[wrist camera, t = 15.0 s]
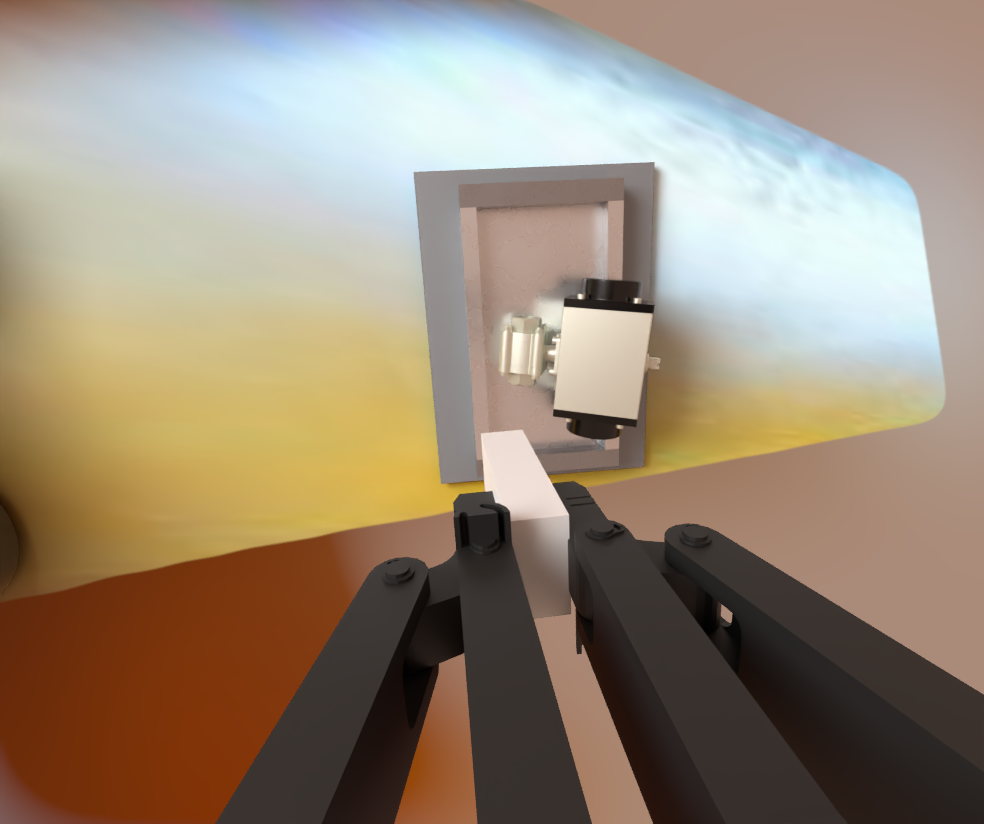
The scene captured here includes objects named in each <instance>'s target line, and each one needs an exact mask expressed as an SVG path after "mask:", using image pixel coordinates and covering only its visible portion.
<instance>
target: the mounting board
mask: <svg viewBox="0 0 984 824" xmlns="http://www.w3.org/2000/svg"><path fill="white" fill-rule="evenodd" d="M622 177H624V215H623V267H622V280H633V281H642V282H643V284H642V291H641V299H642V300H644V301H650V278H651V249H652V220H653V191H654V162H649V163H625V164H600V165H576V166H551V167H527V168H502V169H478V170H454V171H429V172H414V181H415V193H416V204H417V216H418V227H419V238H420V250H421V261H422V272H423V284H424V295H425V307H426V318H427V329H428V341H429V352H430V363H431V375H432V386H433V398H434V409H435V420H436V432H437V443H438V454H439V466H440V477H441V484H444V483H456V482H468V481H480V480H484V477H478V476H477V469H476V456H475V441H474V426H473V410H472V395H471V380H470V365H469V350H468V335H467V320H466V304H465V289H464V274H463V259H462V244H461V229H460V213H459V198H458V185H459V184H482V183H506V182H529V181H552V180H576V179H599V178H622ZM646 394H647V372H645V373H644V379H643V386H642V393H641V399H640V406H639V413H638V419H637V426H636V427H630V426H624V427H623V429H622V433H621V435H620V436H619V466H610V467H598V468H586V469H574V470H562V471H550V472H546V474H547V475H552V474H564V473H576V472H588V471H600V470H612V469H624V468H636V467H644V452H645V423H646Z"/></svg>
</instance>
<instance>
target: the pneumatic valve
mask: <svg viewBox="0 0 984 824" xmlns="http://www.w3.org/2000/svg"><path fill="white" fill-rule="evenodd" d="M642 284H643V282H642V281H633V280H620V279H604V278H582V282H581V292H580V294H578V296H575V295H570V296H568V297H566V298H564V306H563V316H562V326H561V333H557V336H556V337H553V338H552V344H556V346H552V345H549V340H550V331H549V330H548V326H547V324H543V325H541V323H542V319H541V318H539V317H533V316H514V317H513V318H512V323H511V326H510V325H509V324H506V326H504V330H502V331H501V338H500V354H499V370H498V371H499V372H501V375H502V376H508V382H509V383H511V384H513V385H519V386H532V385H535V384H536V381H537V379H539V377H540V376H542V373H544V371H545V370H547V362H548V361H553V362H554V367H553V368H550V370H549V375H553V376H556V388H555V398H554V408H553V417H560V418H565V422H567V424H566V428H567V430H568V431H569V432H571V433H572V434H574V435H577V436H580V437H584V438H589V439H597V440H609V439H615V438H617V437H619V436H620V435H621V433H622V429H623V427H624V426H630V427H636V426H637V419H638V413H639V406H640V399H641V393H642V386H643V379H644V373H645V372H647V369H649V370H659V367H660V366H659V365H657V363H660V361H661V359H660V358H657V357H649V354H648V346H649V339H650V333H651V326H652V319H653V313H654V306H655V305H654V303H653V302H652V301H644V300H642V299H641V291H642Z"/></svg>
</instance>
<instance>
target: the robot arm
mask: <svg viewBox="0 0 984 824" xmlns="http://www.w3.org/2000/svg"><path fill="white" fill-rule="evenodd" d="M481 442H482V456H483V470H484V484H485V492H477V493H467V494H460V495H459V496H458V497H457V499H456V500H455V501H454V502H453V504H454V528H455V538H456V552H455V553H454V555H453V556H452V557H451V558H450V559H449V560H448V561H446V562H444V563H443V564H441V565H438V566H435V567H433V568H430V569H428V567H427V566H426V564H425V563H424V562H422V561H420V560H418V559H415V558H409V557H404V558H394V559H392V560H391V559H390V560H388V561H386V562H383V563H382V564H380V565H378V566H376V567H375V568H374V569H373V570H372V571H371V572H370V573H369V575H368V577H367V578H366V580H365V581H364V583H363V585H362V586H361V588H360V590H359V591H358V593H357V595H356V596H355V598H354V599H353V601H352V602H351V604H350V606H349V607H348V609H347V611H346V612H345V614H344V616H343V617H342V619H341V620H340V622H339V624H338V625H337V627H336V628H335V630H334V632H333V633H332V635H331V637H330V638H329V640H328V642H327V643H326V645H325V646H324V648H323V650H322V651H321V653H320V655H319V656H318V658H317V659H316V661H315V663H314V664H313V666H312V667H311V669H310V671H309V672H308V674H307V676H306V677H305V679H304V680H303V682H302V684H301V685H300V687H299V689H298V690H297V692H296V694H295V695H294V697H293V698H292V700H291V702H290V703H289V705H288V706H287V708H286V710H285V711H284V713H283V715H282V716H281V718H280V719H279V721H278V723H277V724H276V726H275V728H274V729H273V731H272V732H271V734H270V736H269V737H268V739H267V741H266V742H265V744H264V745H263V747H262V749H261V750H260V752H259V754H258V755H257V757H256V758H255V760H254V762H253V763H252V765H251V766H250V768H249V770H248V771H247V773H246V775H245V776H244V778H243V779H242V781H241V783H240V784H239V786H238V788H237V789H236V791H235V792H234V794H233V796H232V798H231V799H230V801H229V802H228V804H227V805H226V807H225V809H224V810H223V812H222V814H221V815H220V817H219V819H218V820H217V822H216V823H215V824H394V822H395V819H396V815H397V812H398V809H399V805H400V802H401V799H402V795H403V791H404V789H405V785H406V782H407V778H408V775H409V771H410V768H411V765H412V761H413V758H414V754H415V751H416V748H417V744H418V741H419V738H420V734H421V731H422V728H423V724H424V720H425V717H426V713H427V710H428V707H429V704H430V700H431V697H432V694H433V690H434V687H435V683H436V680H437V676H438V671H439V663H441V662H444V661H446V660H448V659H451V658H453V657H456V656H458V655H461V654H463V653H464V654H465V666H466V679H467V692H468V705H469V718H470V731H471V744H472V757H473V769H474V783H475V796H476V809H477V822H478V824H592V822H591V819H590V815H589V812H588V809H587V805H586V801H585V798H584V794H583V791H582V787H581V784H580V780H579V777H578V773H577V770H576V767H575V763H574V759H573V756H572V752H571V749H570V745H569V742H568V738H567V735H566V731H565V728H564V724H563V721H562V717H561V714H560V710H559V707H558V703H557V700H556V696H555V692H554V689H553V686H552V682H551V679H550V675H549V672H548V668H547V664H546V661H545V657H544V654H543V650H542V647H541V643H540V640H539V636H538V633H537V629H536V626H535V622H534V619H535V618H543V617H551V616H559V615H566V614H571V597H572V600H573V602H574V604H575V607H576V648H577V654H581V652H582V649H581V648H582V647H581V646H582V645H584V648H585V650H586V653H587V655H588V658H589V661H590V663H591V666H592V668H593V671H594V673H595V676H596V679H597V681H598V683H599V686H600V688H601V691H602V694H603V696H604V699H605V702H606V704H607V707H608V709H609V711H610V714H611V717H612V719H613V722H614V725H615V727H616V730H617V732H618V735H619V737H620V740H621V742H622V745H623V748H624V750H625V752H626V755H627V758H628V760H629V763H630V765H631V768H632V771H633V773H634V775H635V778H636V781H637V783H638V786H639V788H640V791H641V793H642V796H643V798H644V801H645V804H646V806H647V809H648V811H649V814H650V816H651V819H652V821H653V824H984V695H983V694H982V693H980V692H979V691H977V690H975V689H974V688H972V687H970V686H969V685H967V684H965V683H964V682H962V681H960V680H959V679H957V678H956V677H954V676H952V675H951V674H949V673H947V672H946V671H944V670H943V669H941V668H939V667H937V666H936V665H934V664H932V663H931V662H929V661H928V660H926V659H924V658H923V657H921V656H920V655H918V654H916V653H915V652H913V651H911V650H910V649H908V648H907V647H905V646H903V645H902V644H900V643H898V642H897V641H895V640H894V639H892V638H890V637H888V636H887V635H885V634H884V633H882V632H880V631H879V630H877V629H875V628H874V627H872V626H871V625H869V624H867V623H865V622H864V621H862V620H861V619H859V618H857V617H856V616H854V615H853V614H851V613H849V612H848V611H846V610H845V609H843V608H841V607H840V606H838V605H836V604H835V603H833V602H831V601H829V600H828V599H827V598H825V597H823V596H822V595H820V594H818V593H817V592H815V591H814V590H812V589H810V588H809V587H807V586H805V585H804V584H802V583H800V582H799V581H797V580H796V579H794V578H792V577H791V576H789V575H787V574H786V573H784V572H782V571H781V570H779V569H778V568H776V567H774V566H773V565H771V564H769V563H768V562H766V561H764V560H763V559H761V558H760V557H758V556H756V555H755V554H753V553H751V552H750V551H748V550H747V549H745V548H743V547H741V546H740V545H738V544H737V543H735V542H733V541H732V540H730V539H729V538H727V537H725V536H724V535H722V534H720V533H719V532H717V531H715V530H713V529H710V528H708V527H704V526H700V525H698V524H682V525H675V526H673V527H671V528H669V529H668V530H667V531H666V532H665V539H664V542H653V541H642V540H636V539H635V538H634V537H633V535H632V534H631V532H630V531H629V530H628V529H627V528H626V527H625V526H624V525H622V524H620V523H617V522H615V521H610V520H608V519H607V518H606V517H605V515H604V514H603V512H602V511H601V509H600V508H599V507H598V505H597V504H596V503H595V501H594V499H593V498H592V497H591V495H590V494H589V492H588V491H587V489H586V488H585V487H583V486H582V485H580V484H578V483H576V482H574V481H572V482H562V483H551V481H550V479H549V478H548V476H547V474H546V472H545V470H544V468H543V467H542V465H541V463H540V461H539V459H538V457H537V456H536V454H535V452H534V450H533V448H532V447H531V445H530V443H529V441H528V439H527V437H526V436H525V434H524V432H523V430H513V431H502V432H491V433H481ZM18 560H19V545H18V539H17V535H16V532H15V529H14V526H13V524H12V522H11V520H10V518H9V516H8V515H7V513H6V511H5V510H4V508H3V507H2V506H1V505H0V594H1V593H2V592H3V591H4V590H5V588H6V587H7V586H8V585H9V583H10V582H11V580H12V578H13V576H14V574H15V572H16V569H17V565H18ZM721 604H722V605H724V606H725V607H726V608H728V609H729V610H730V611H731V612H732V613H733V615H732V622H731V623H729V622H727V621H726V620H725V619H723V618H722V617H721Z"/></svg>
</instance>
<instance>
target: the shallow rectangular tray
mask: <svg viewBox="0 0 984 824" xmlns="http://www.w3.org/2000/svg"><path fill="white" fill-rule="evenodd" d="M458 198H459V213H460V229H461V244H462V259H463V274H464V289H465V304H466V320H467V335H468V350H469V365H470V380H471V395H472V410H473V426H474V441H475V456H476V469H477V476H478V477H484V470H483V456H482V442H481V433H491V432H502V431H513V430H523V432H524V434H525V436H526V437H527V439H528V441H529V443H530V445H531V447H532V448H533V450H534V452H535V454H536V456H537V457H538V459H539V461H540V463H541V465H542V467H543V468H544V470H545V472H550V471H562V470H574V469H586V468H598V467H610V466H619V437H617V438H615V439H609V440H597V439H589V438H584V437H580V436H577V435H574V434H572V433H571V432H569V431H568V430H567V428H566V424H567V422H565V418H560V417H553V408H554V398H555V388H556V376H553V375H549V370H550V368H553V367H554V362H553V361H548V362H547V370H545V371H544V373H542V376H540V377H539V379H537V381H536V384H535V385H532V386H519V385H513V384H511V383H509V382H508V376H502V375H501V372H499V371H498V370H499V354H500V338H501V331H502V330H504V326H506V324H509V325H510V326H511V323H512V318H513V317H514V316H533V317H539V318H541V319H542V323H541V325H543V324H547V326H548V330H549V331H550V340H549V345H552V346H556V344H552V338H553V337H556V336H557V333H561V326H562V316H563V306H564V298H566V297H568V296H570V295H575V296H578V294H580V292H581V282H582V278H604V279H620V280H622V267H623V215H624V177H622V178H599V179H576V180H552V181H529V182H506V183H482V184H459V185H458Z"/></svg>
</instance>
